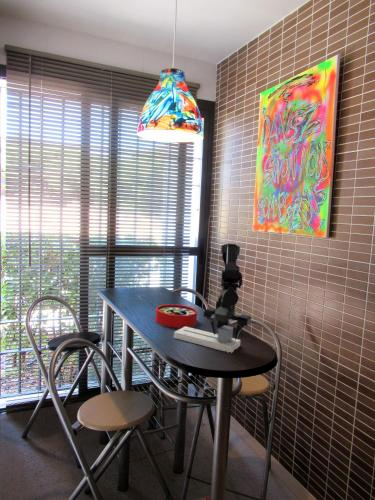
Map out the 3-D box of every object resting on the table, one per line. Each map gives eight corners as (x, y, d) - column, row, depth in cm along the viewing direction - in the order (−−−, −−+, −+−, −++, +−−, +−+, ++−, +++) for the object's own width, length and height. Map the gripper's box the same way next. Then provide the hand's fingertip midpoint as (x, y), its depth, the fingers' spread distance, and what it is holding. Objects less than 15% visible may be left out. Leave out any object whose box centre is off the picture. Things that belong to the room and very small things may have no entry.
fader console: (184, 331, 161) (185, 326, 161) (240, 345, 150) (240, 339, 149) (173, 337, 153) (174, 331, 152) (231, 353, 141) (232, 346, 140)
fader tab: (223, 336, 151) (224, 325, 150) (232, 339, 149) (233, 327, 148) (217, 340, 145) (218, 328, 145) (226, 343, 144) (227, 330, 143)
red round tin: (147, 307, 176) (178, 302, 190) (147, 319, 177) (177, 313, 191) (175, 318, 162) (205, 312, 176) (174, 330, 162) (204, 324, 176)
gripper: (199, 298, 143) (195, 336, 144) (244, 307, 134) (240, 348, 136) (210, 294, 152) (207, 329, 154) (253, 302, 144) (249, 340, 145)
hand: (225, 336), depth 147 cm, fingers open, 9 cm apart
